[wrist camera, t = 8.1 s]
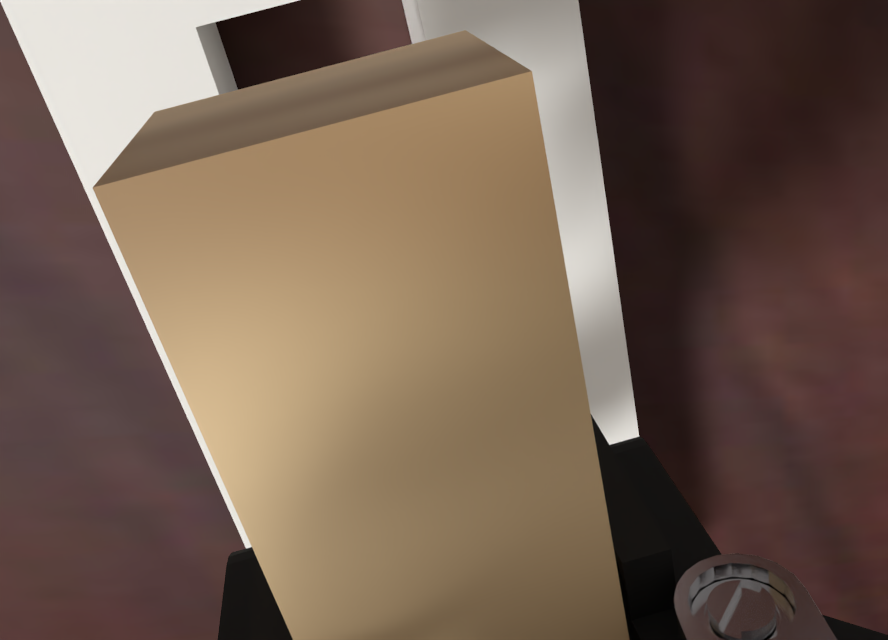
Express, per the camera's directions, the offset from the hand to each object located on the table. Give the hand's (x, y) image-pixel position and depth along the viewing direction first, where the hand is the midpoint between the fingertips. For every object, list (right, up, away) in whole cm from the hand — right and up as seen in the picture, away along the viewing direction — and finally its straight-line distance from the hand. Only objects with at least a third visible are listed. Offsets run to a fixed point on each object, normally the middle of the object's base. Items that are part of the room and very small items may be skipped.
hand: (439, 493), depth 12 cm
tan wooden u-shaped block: (0, +1, +3) cm, 3 cm away
